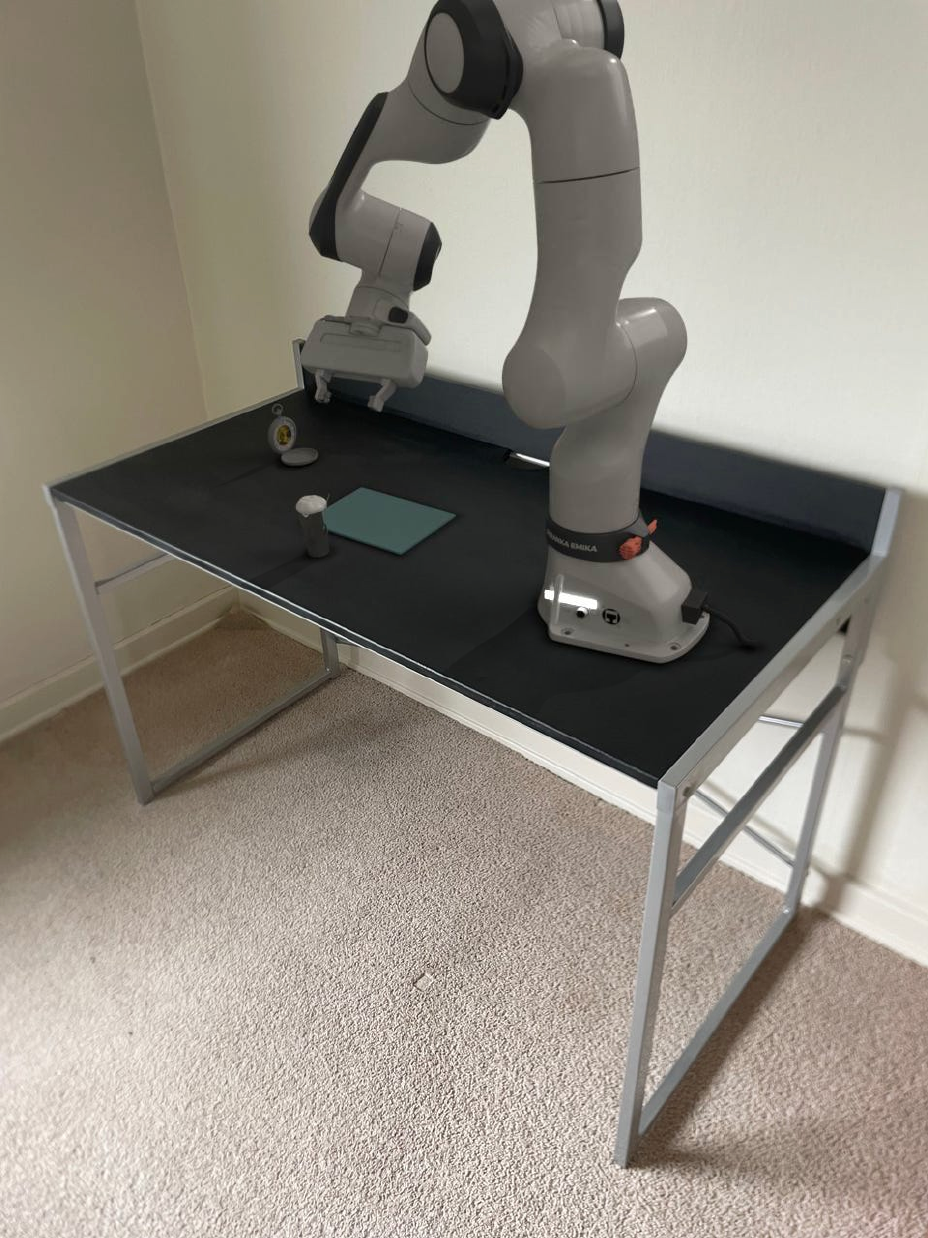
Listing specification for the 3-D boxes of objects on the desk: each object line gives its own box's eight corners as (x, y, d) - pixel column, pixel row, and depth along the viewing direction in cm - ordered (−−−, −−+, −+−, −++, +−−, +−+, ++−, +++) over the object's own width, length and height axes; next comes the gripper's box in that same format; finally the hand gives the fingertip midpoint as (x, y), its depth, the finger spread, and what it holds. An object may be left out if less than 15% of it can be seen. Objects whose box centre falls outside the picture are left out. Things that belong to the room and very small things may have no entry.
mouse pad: (455, 516, 146) (455, 514, 146) (400, 555, 137) (400, 553, 137) (361, 489, 157) (361, 486, 156) (304, 523, 148) (303, 521, 147)
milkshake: (333, 561, 137) (324, 501, 131) (299, 559, 138) (288, 499, 132) (343, 546, 141) (334, 486, 135) (309, 544, 142) (299, 485, 136)
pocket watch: (315, 467, 165) (307, 414, 159) (269, 469, 165) (259, 416, 160) (322, 448, 172) (314, 396, 166) (277, 450, 172) (268, 399, 167)
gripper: (308, 303, 140) (279, 387, 138) (424, 315, 131) (395, 405, 130) (328, 324, 145) (301, 405, 144) (441, 337, 137) (414, 423, 136)
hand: (347, 405), depth 137 cm, fingers open, 8 cm apart
